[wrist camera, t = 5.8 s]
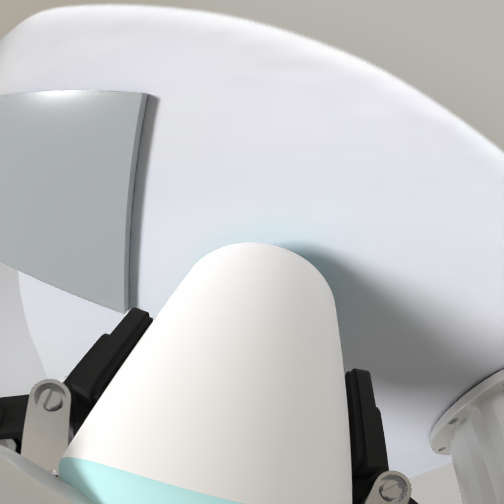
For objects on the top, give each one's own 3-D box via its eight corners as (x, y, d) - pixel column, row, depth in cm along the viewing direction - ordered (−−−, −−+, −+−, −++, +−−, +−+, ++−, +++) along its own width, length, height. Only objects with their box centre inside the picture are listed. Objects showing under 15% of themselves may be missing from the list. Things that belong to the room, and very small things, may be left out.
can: (343, 240, 12) (408, 596, 1) (324, 367, 15) (315, 598, 4) (177, 233, 13) (-35, 465, 2) (194, 355, 16) (104, 554, 5)
